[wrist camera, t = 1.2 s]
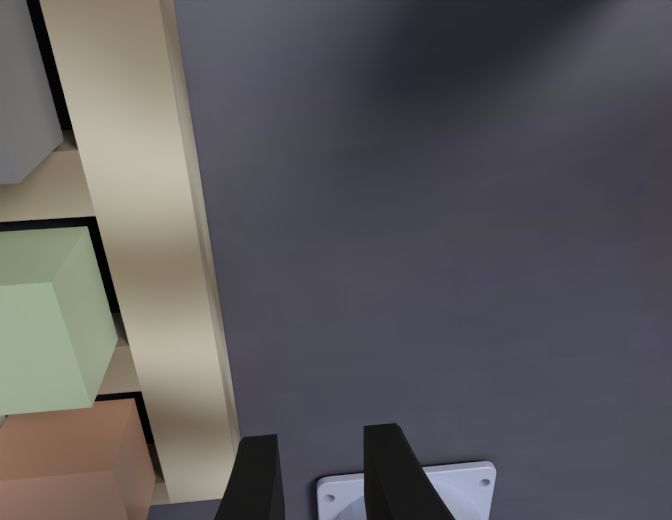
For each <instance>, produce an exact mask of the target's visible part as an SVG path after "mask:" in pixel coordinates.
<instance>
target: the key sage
mask: <svg viewBox="0 0 672 520" xmlns="http://www.w3.org/2000/svg"><path fill="white" fill-rule="evenodd" d="M117 341H118V337H117V334H116V330H115V326H114V323H113V319H112V315H111V312H110V308H109V304H108V300H107V297H106V293H105V289H104V286H103V282H102V278H101V275H100V271H99V267H98V264H97V260H96V256H95V253H94V249H93V245H92V242H91V238H90V234H89V231H88V227H87V226H84V227H68V228H53V229H37V230H21V231H6V232H0V415H10V414H22V413H33V412H45V411H56V410H68V409H79V408H91V407H92V406H93V403H94V401H95V398H96V396H97V393H98V390H99V388H100V385H101V383H102V380H103V377H104V375H105V372H106V370H107V367H108V364H109V362H110V359H111V357H112V354H113V351H114V349H115V346H116V344H117Z"/></svg>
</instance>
